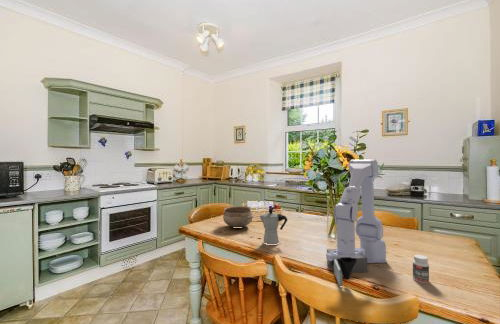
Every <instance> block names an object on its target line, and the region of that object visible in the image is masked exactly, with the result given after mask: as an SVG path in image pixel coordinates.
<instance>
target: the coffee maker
mask: <svg viewBox="0 0 500 324" xmlns="http://www.w3.org/2000/svg"><path fill="white" fill-rule="evenodd" d="M273 212H274V209H273V208H268V213H264V214H263V215H259V216H258V217H259V218H260V220H261V223H262V224H263V228H264V236H263V242H264V243H267V244H277V243H279V244H280V240H279V235H278V228H279V229H280V230H281V231H282V230H283V228H284V227H285V225H286V224H287V222H288V218H287V216H285V215H282V214H281V213H278V214H277V213H273ZM283 220H284V221H283ZM280 221H283V223H282V224H281V226H280V227H279V222H280ZM263 242H262V243H263Z"/></svg>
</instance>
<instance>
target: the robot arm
mask: <svg viewBox="0 0 500 324" xmlns="http://www.w3.org/2000/svg"><path fill="white" fill-rule="evenodd" d="M348 171H349V174H350V179H349V183H348V186H346V187H345V188H344V190H343V192H342V194H341V197H340V200H339V203H336V204H335V205H334V208H333V216H334V224H335V225H336V249H337V250H335V251H333V252H330V253H327V252H326V253H325V255H326V256H325V257H326V261H327V260H329V261H332V260H334V259H337V261H338V262H339V264H340V267H341V270H342V278H343V279H345V280H347V281H348V280H350V277H351V275H352V272H351V271H352V269H353V267H354V265H355V263H356V259H355V258H356V256H358V255H362V256H366V257H367V264H375V263H381V264H382V263H388V261H387V245H386V242H385V240H384V239H383V236H384V228H383V222H382V220H381V219H380V218H379V217H377V216H375V199H374V198H375V195H374V193H375V191H374V180H375V179H378V177H379V163H378V161H377V160H376V158H373V159H350V161H349V164H348ZM360 197H361V215H360V216H359V217H358V210H359V208H358V205H359V201H360ZM356 236H358V238H359V247H357V248H356V240H355V239H356Z"/></svg>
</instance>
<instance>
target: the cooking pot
mask: <svg viewBox="0 0 500 324" xmlns="http://www.w3.org/2000/svg"><path fill="white" fill-rule="evenodd" d="M223 210H224V211H223V212H222V213H223V216H222V218H223V219H222V220H223V222H224V224H225V225H227V226H229V227H230V226H231V228H232V227H243V228H245V227H247V226H248V225H250V223H251V222H252V220H253V218H254V215H253V213H252V207H250V206H247V205H245V206H244V205H233V206H227V207H224V208H223ZM244 226H245V227H244Z"/></svg>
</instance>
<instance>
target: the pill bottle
mask: <svg viewBox="0 0 500 324" xmlns="http://www.w3.org/2000/svg"><path fill="white" fill-rule="evenodd" d="M428 262H429V257H427V256H426V255H423V254H414V255H413V260H412V279H413V280H414V281H415V282H417V283H420V284H428V283H430V265H429V263H428Z"/></svg>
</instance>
